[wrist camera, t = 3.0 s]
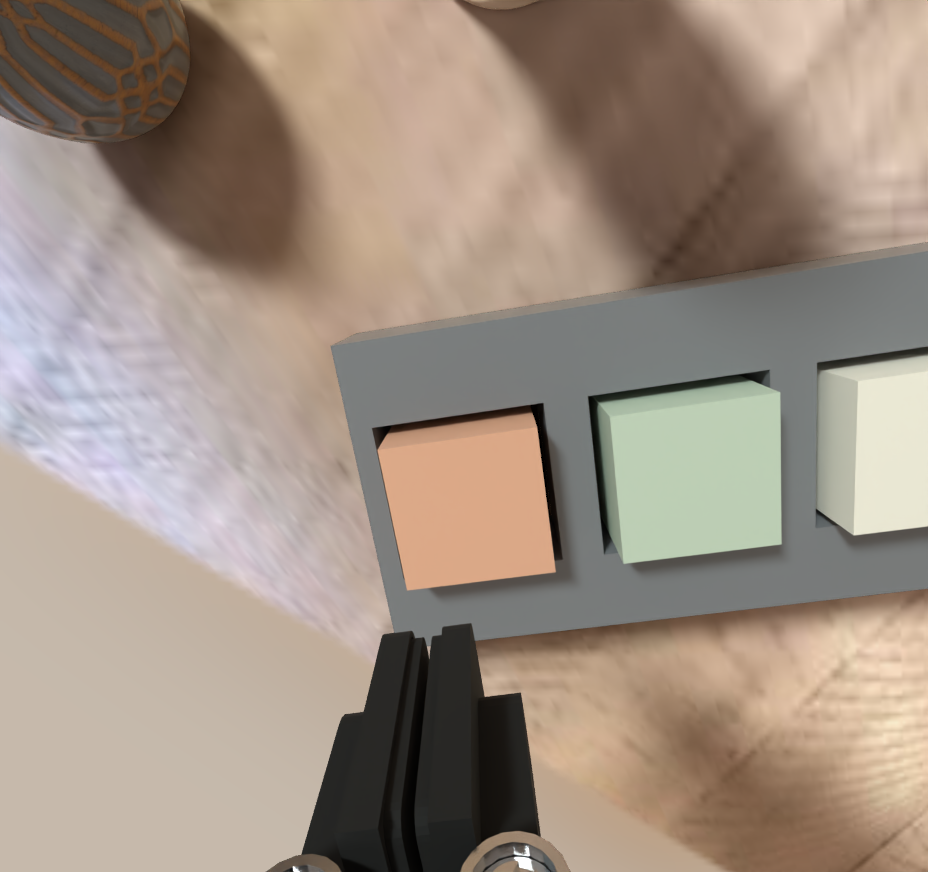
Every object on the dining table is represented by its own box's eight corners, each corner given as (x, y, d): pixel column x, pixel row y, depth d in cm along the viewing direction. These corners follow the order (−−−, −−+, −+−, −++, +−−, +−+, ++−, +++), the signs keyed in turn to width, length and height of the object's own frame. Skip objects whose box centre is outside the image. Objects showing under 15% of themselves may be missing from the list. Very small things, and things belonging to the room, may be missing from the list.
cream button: (937, 339, 21) (1040, 354, 17) (928, 472, 22) (1021, 514, 18) (790, 361, 21) (857, 381, 17) (790, 490, 23) (853, 535, 19)
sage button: (727, 370, 21) (780, 392, 18) (731, 498, 23) (781, 544, 19) (587, 390, 22) (609, 416, 18) (600, 515, 23) (623, 563, 19)
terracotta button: (527, 399, 22) (537, 427, 18) (544, 522, 23) (555, 572, 19) (395, 419, 22) (377, 449, 18) (419, 538, 24) (407, 590, 20)
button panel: (946, 238, 21) (1048, 231, 17) (926, 530, 24) (1009, 579, 21) (356, 333, 23) (330, 345, 19) (410, 594, 26) (398, 649, 22)
